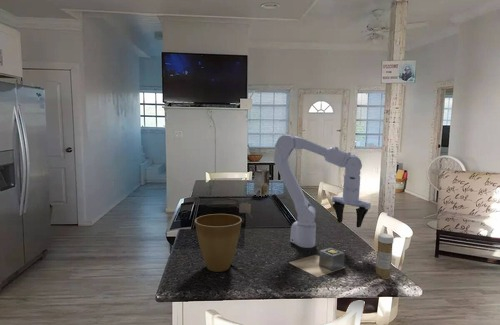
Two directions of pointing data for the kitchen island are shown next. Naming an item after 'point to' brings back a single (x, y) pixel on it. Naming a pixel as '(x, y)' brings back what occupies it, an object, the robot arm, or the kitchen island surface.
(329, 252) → the brass post
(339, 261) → the grey hollow square block
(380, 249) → the sprinkles bottle
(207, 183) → the kitchen island surface
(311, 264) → the plate
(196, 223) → the plant pot
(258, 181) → the coffee box
